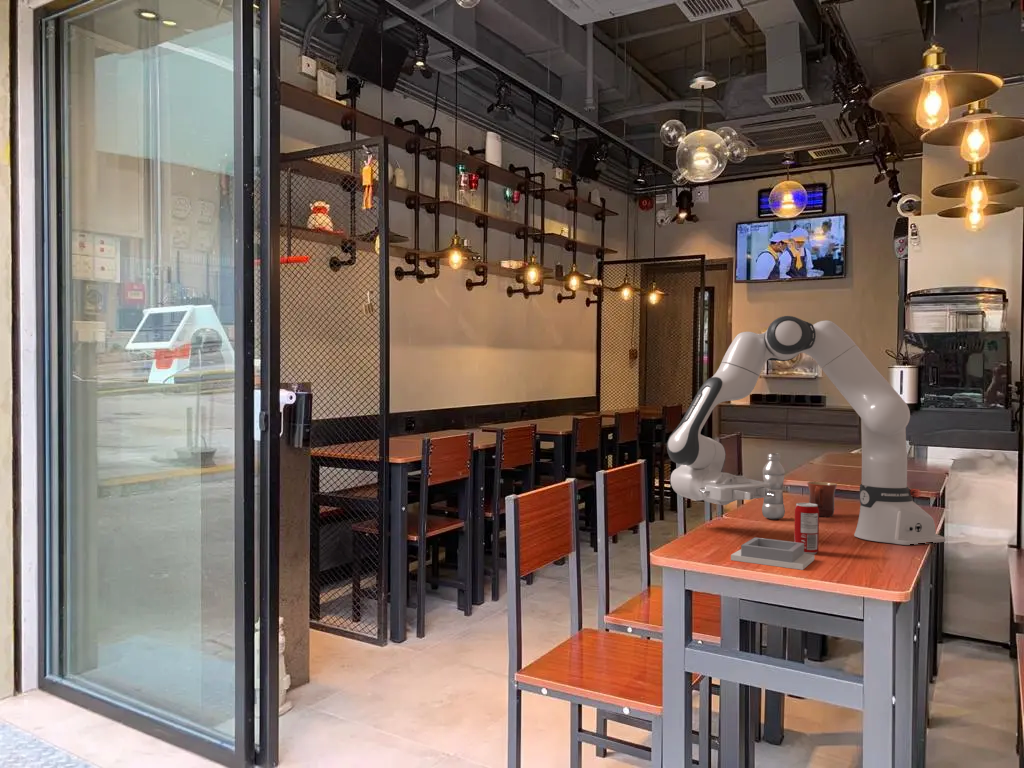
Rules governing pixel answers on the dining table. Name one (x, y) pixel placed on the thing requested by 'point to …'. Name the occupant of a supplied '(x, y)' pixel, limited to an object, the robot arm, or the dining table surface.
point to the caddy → (773, 553)
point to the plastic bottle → (774, 487)
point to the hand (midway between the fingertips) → (763, 495)
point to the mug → (822, 497)
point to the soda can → (807, 526)
